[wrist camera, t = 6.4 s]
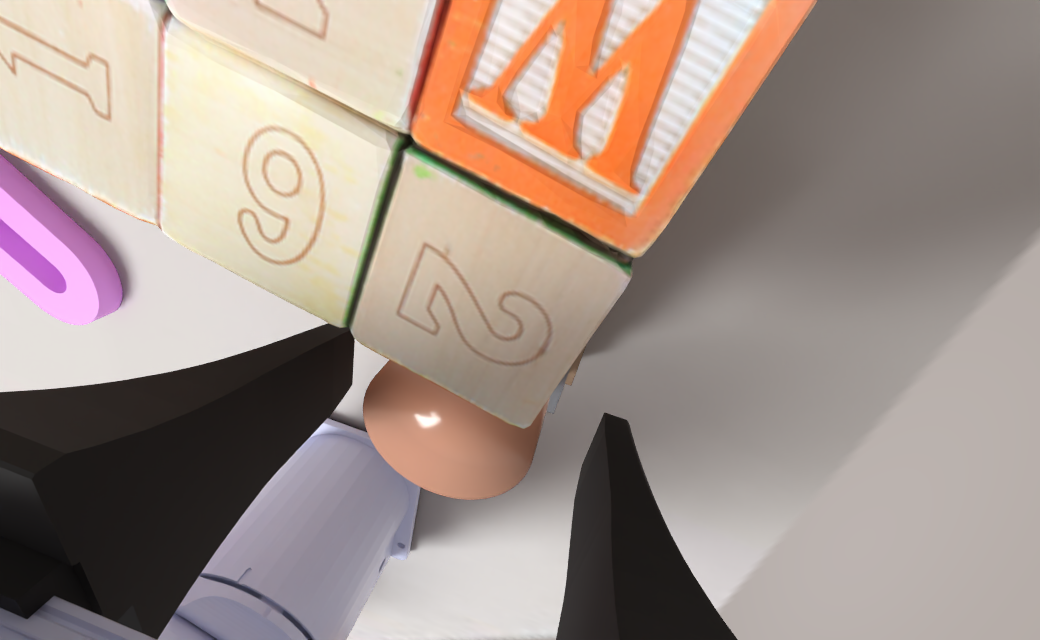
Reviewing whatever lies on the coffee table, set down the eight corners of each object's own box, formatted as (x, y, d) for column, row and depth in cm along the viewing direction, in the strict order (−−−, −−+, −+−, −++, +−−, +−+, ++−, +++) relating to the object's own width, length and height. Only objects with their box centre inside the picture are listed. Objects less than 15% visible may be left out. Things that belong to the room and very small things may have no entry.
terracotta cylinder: (544, 413, 16) (513, 520, 12) (426, 375, 17) (360, 467, 13) (578, 303, 14) (553, 391, 10) (440, 264, 14) (366, 332, 11)
